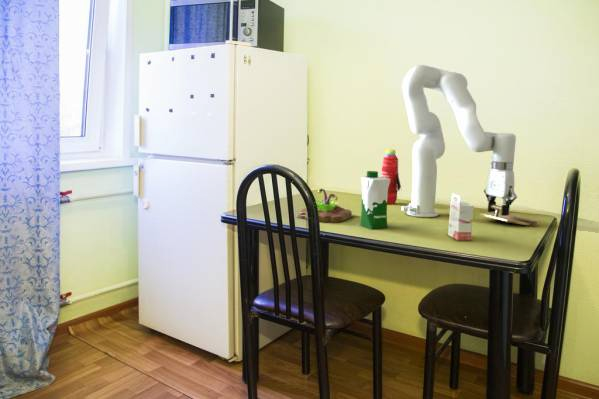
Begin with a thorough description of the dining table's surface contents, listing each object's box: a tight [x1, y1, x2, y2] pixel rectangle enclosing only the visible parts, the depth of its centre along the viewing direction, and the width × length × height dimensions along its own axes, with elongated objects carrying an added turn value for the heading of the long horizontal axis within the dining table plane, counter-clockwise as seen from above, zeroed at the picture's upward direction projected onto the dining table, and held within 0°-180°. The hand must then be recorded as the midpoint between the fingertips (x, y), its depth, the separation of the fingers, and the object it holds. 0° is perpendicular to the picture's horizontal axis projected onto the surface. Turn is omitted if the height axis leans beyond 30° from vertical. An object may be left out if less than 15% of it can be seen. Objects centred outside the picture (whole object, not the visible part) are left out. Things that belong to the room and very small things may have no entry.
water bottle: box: [381, 148, 402, 205], centre depth 229 cm, size 12×8×25 cm, turn 36°
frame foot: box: [501, 213, 539, 227], centre depth 195 cm, size 2×15×2 cm, turn 24°
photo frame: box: [479, 204, 530, 226], centre depth 192 cm, size 12×14×5 cm
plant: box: [297, 188, 353, 223], centre depth 199 cm, size 20×20×11 cm
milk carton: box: [360, 170, 390, 230], centre depth 182 cm, size 9×9×20 cm
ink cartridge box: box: [447, 192, 474, 241], centre depth 168 cm, size 9×5×15 cm, turn 5°
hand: (498, 213), depth 190 cm, fingers closed on photo frame, 6 cm apart
